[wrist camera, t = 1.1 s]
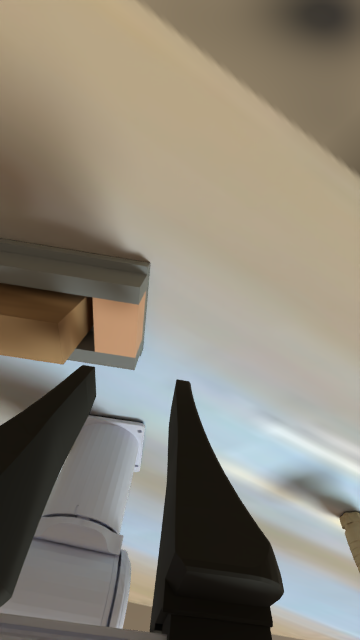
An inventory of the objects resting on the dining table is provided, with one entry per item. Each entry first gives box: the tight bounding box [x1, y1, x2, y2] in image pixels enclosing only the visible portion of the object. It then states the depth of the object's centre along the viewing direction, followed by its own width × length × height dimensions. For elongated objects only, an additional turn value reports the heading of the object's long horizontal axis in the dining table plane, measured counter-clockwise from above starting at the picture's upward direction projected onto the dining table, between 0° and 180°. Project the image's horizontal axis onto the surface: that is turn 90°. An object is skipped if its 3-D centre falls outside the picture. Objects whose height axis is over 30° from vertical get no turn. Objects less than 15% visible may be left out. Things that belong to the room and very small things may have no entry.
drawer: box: [0, 283, 94, 364], centre depth 16 cm, size 3×8×5 cm, turn 82°
